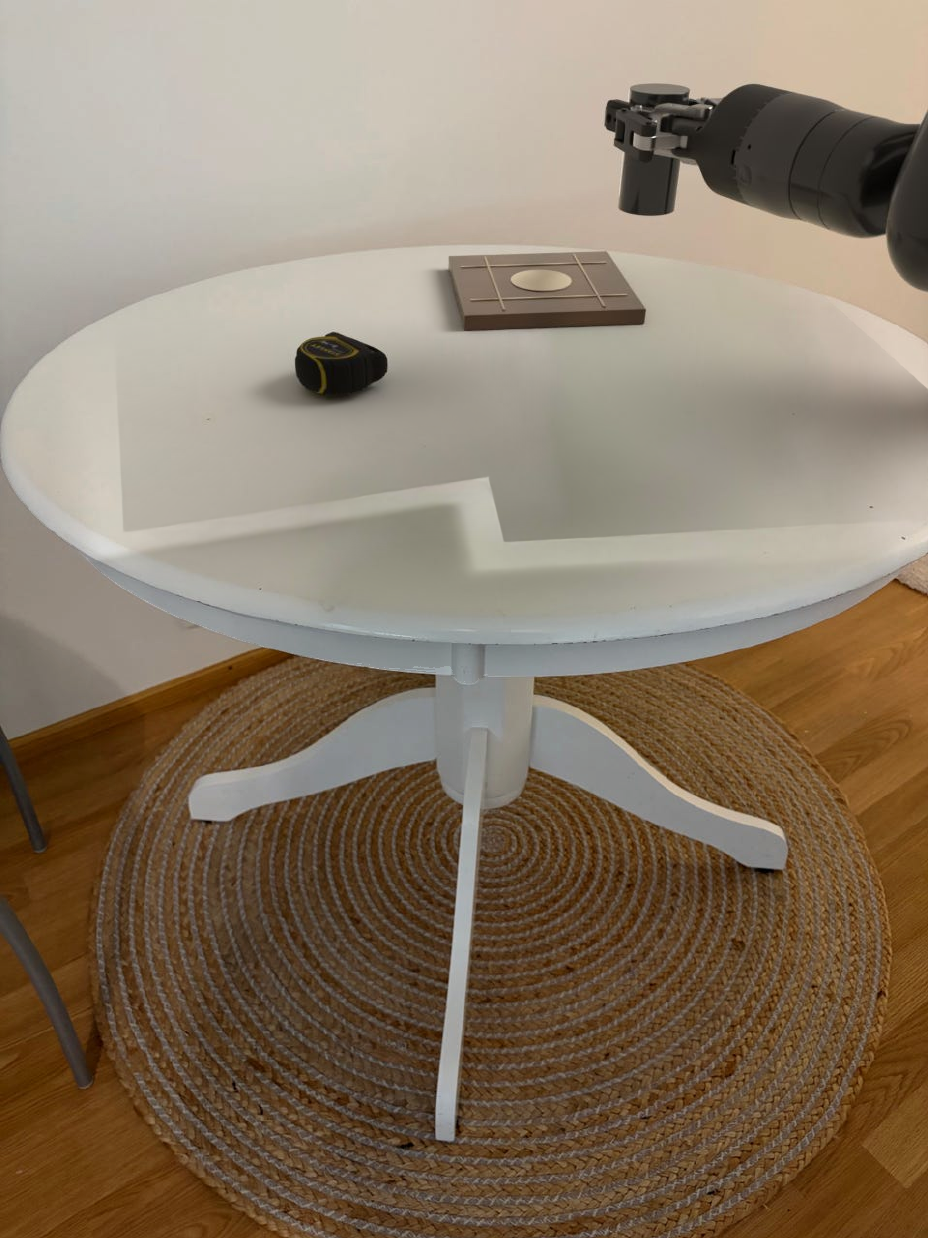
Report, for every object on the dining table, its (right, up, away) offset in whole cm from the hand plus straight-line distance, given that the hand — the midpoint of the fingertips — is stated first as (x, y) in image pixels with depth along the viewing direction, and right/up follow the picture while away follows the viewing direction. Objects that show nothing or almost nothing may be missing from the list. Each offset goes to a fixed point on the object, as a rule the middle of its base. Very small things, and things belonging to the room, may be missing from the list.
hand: (636, 110), depth 79 cm
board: (-6, -8, +22) cm, 25 cm away
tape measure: (-25, -21, +5) cm, 33 cm away
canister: (+1, -7, +2) cm, 7 cm away
